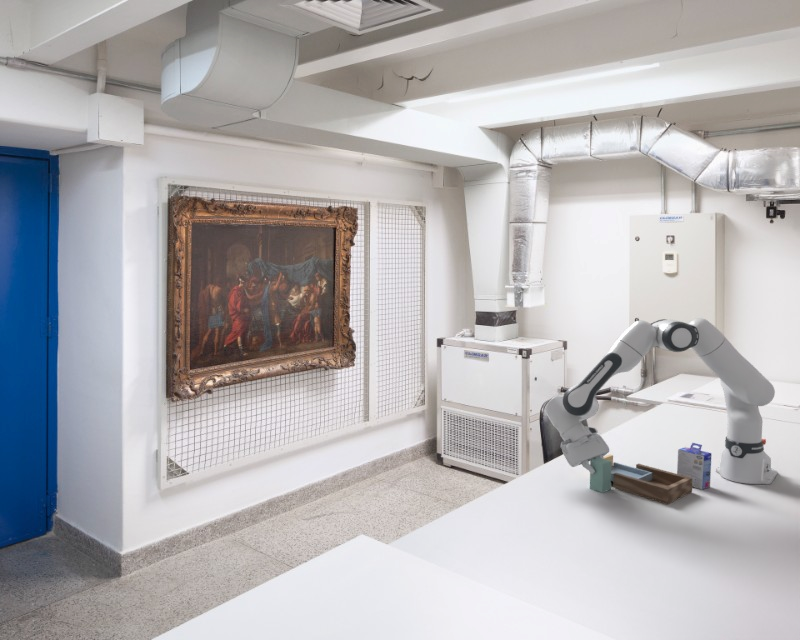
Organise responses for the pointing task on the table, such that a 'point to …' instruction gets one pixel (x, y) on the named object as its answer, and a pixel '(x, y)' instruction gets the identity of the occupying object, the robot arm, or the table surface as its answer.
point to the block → (601, 475)
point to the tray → (628, 470)
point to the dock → (655, 485)
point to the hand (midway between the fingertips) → (599, 470)
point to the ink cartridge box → (695, 465)
